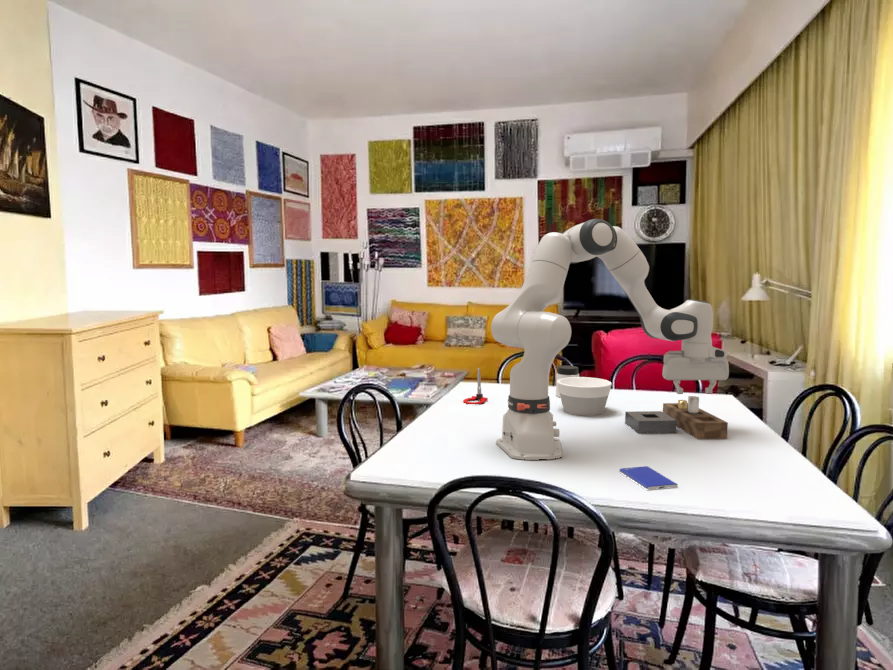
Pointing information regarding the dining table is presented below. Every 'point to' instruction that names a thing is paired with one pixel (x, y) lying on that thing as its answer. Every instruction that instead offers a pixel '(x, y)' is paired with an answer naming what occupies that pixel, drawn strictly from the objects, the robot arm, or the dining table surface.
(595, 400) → the bowl
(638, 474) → the hard drive
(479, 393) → the tow hook
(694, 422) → the rack
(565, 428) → the dining table surface
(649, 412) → the socket block
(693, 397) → the steel peg
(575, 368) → the jar
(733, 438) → the dining table surface
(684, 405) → the cylinder
